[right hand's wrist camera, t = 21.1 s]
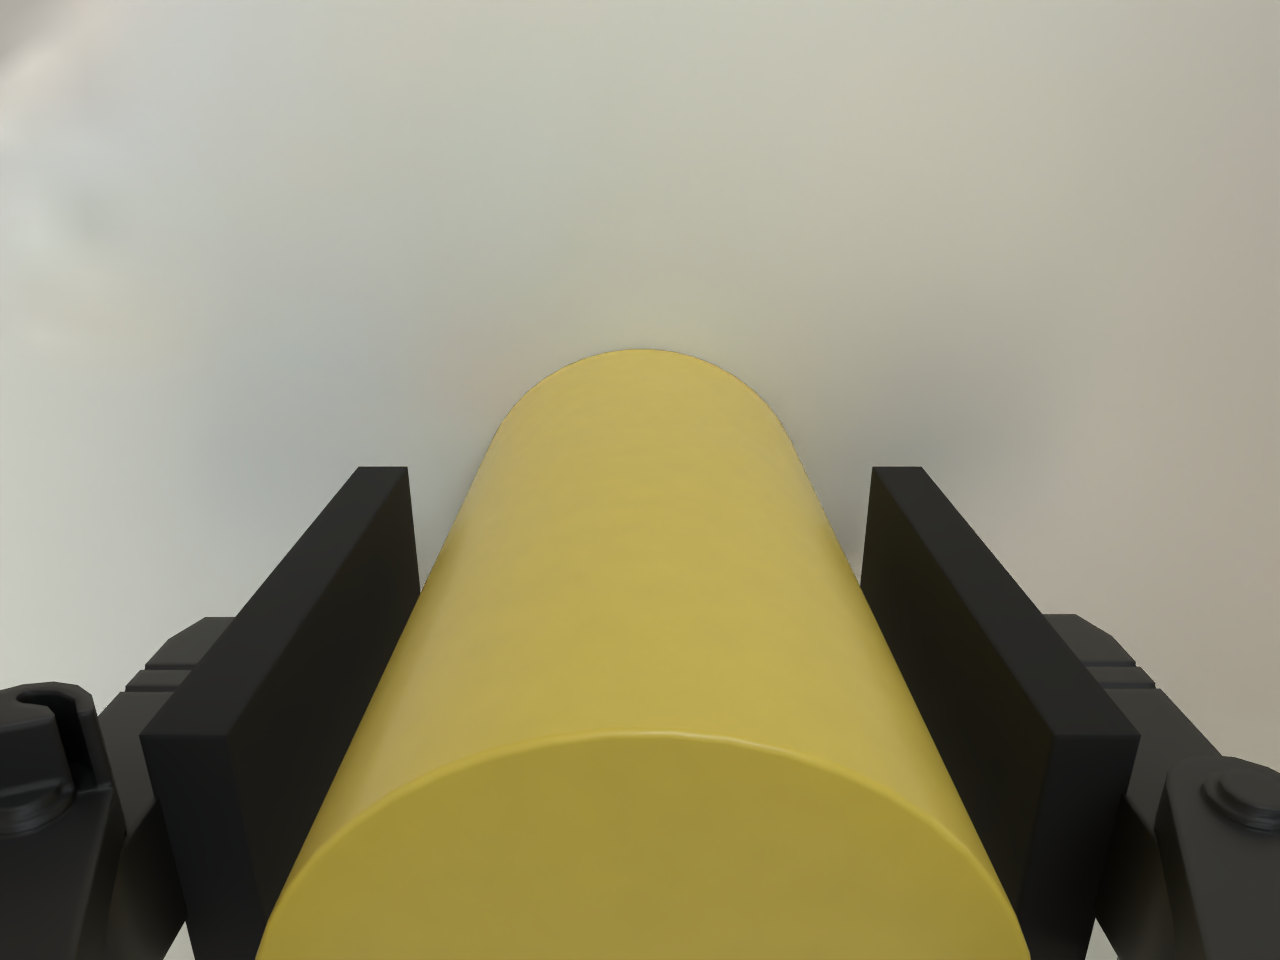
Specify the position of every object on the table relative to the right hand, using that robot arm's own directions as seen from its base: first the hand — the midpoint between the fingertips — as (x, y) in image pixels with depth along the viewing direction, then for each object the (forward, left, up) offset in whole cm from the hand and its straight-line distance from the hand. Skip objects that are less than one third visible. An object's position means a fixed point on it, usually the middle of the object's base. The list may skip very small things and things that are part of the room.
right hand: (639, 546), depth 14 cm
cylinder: (0, 0, -2) cm, 2 cm away
